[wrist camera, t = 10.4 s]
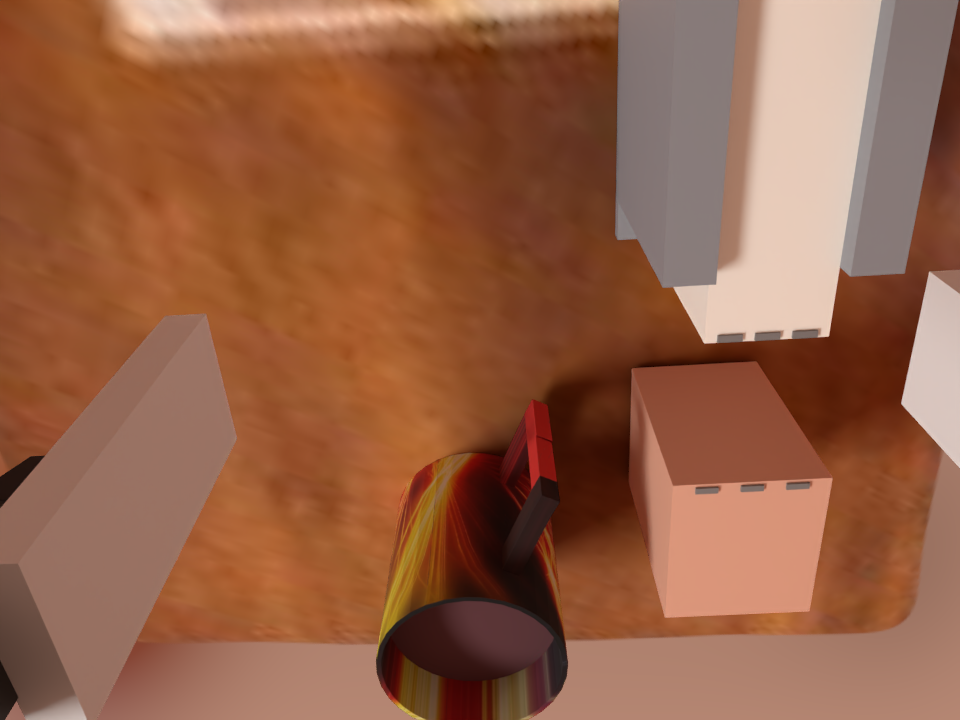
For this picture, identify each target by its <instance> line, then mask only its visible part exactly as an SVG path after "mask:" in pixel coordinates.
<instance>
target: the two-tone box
mask: <svg viewBox="0 0 960 720" xmlns="http://www.w3.org/2000/svg"><path fill="white" fill-rule="evenodd" d="M958 1H959V0H619V34H618V100H617V165H616V230H615V235H616V237H617V239H618V240H625V239H638V241H639V243H640V245H641V246H642V248H643V250H644V252H645V254H646V256H647V258H648V260H649V262H650V264H651V266H652V268H653V270H654V271H655V273H656V275H657V277H658V279H659V281H660V283H661V285H662V287H663V288H665V287H673V288H674V290H675V291H676V293H677V295H678V297H679V299H680V300H681V302H682V304H683V306H684V308H685V309H686V311H687V313H688V315H689V317H690V318H691V320H692V322H693V324H694V326H695V328H696V329H697V331H698V333H699V335H700V337H701V338H702V340H703V342H704V344H705V343H728V342H743V341H764V340H780V339H800V338H817V337H829V333H830V326H831V320H832V314H833V307H834V301H835V294H836V288H837V282H838V275H839V269H840V268H841V269H843V270H844V271H845V272H846V273H847V274H848V275H849V276H850V277H853V276H870V275H887V274H905V269H906V264H907V259H908V253H909V248H910V243H911V238H912V233H913V228H914V223H915V218H916V213H917V208H918V203H919V198H920V193H921V188H922V183H923V178H924V173H925V168H926V163H927V158H928V152H929V147H930V142H931V137H932V132H933V127H934V122H935V117H936V112H937V107H938V102H939V97H940V92H941V87H942V82H943V77H944V72H945V67H946V62H947V57H948V51H949V46H950V41H951V36H952V31H953V26H954V21H955V16H956V11H957V6H958Z"/></svg>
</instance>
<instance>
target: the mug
mask: <svg viewBox="0 0 960 720" xmlns="http://www.w3.org/2000/svg"><path fill="white" fill-rule="evenodd" d="M528 459H529V467H530V472H529V471H528V470H526V469H525V468H524V467H525V465H526V463H527V461H528ZM559 503H560V499H559V492H558V485H557V478H556V470H555V463H554V456H553V448H552V434H551V426H550V419H549V412H548V405H546V404H543V403H541V402H538V401H536V400H533V399H532V401H531V403H530V405H529V406H528V408H527V410H526V412H525V414H524V416H523V418H522V420H521V422H520V425H519V427H518V429H517V431H516V433H515V435H514V437H513V439H512V442H511V444H510V446H509V448H508V450H507V452H506V454H505V456H504V458H503V457H500V456H496V455H491V454H485V453H464V454H456V455H451V456H448V457H445V458H442V459H439V460H437V461H435V462H433V463H431V464H429V465H427V466H426V467H424V468H423V469H422V470H421V471H419V472H418V473H417V474H416V475H415V476H414V477H413V478H412V479H411V481H410V482H409V483H408V484H407V486H406V488H405V490H404V492H403V494H402V496H401V500H400V505H399V510H398V517H397V523H396V530H395V537H394V544H393V550H392V557H391V564H390V570H389V577H388V584H387V590H386V597H385V604H384V610H383V617H382V624H381V630H380V637H379V644H378V650H377V657H376V668H377V675H378V678H379V681H380V684H381V687H382V688H383V689H384V691H385V693H386V694H387V696H388V697H389V699H390V700H392V702H393V703H394V704H396V705H397V707H398V708H400V709H401V710H403V711H404V712H405V713H407V714H408V715H410V716H411V717H413V718H415V719H417V720H529V719H530V718H532V717H534V716H535V715H537V714H538V713H540V712H542V711H543V710H544V709H545V708H546V707H547V706H548V705H550V704H551V703H552V702H553V701H554V699H555V698H556V697H557V695H558V694H559V692H560V691H561V690H562V687H563V685H564V682H565V680H566V677H567V669H568V660H567V651H566V642H565V634H564V625H563V617H562V608H561V600H560V591H559V583H558V574H557V566H556V557H555V549H554V540H553V532H552V523H551V516H552V514H553V512H554V511H555V509H556V508H557V506H558V504H559Z"/></svg>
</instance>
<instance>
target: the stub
mask: <svg viewBox="0 0 960 720" xmlns="http://www.w3.org/2000/svg"><path fill="white" fill-rule="evenodd" d="M832 479H833V478H832V476H831V475H830V473H829V472H828V470H827V469H826V467H825V465H824V464H823V462H822V461H821V459H820V458H819V456H818V455H817V453H816V452H815V450H814V449H813V447H812V446H811V444H810V442H809V441H808V439H807V438H806V436H805V435H804V433H803V432H802V430H801V429H800V427H799V426H798V424H797V423H796V421H795V420H794V418H793V416H792V415H791V413H790V412H789V410H788V409H787V407H786V406H785V404H784V403H783V401H782V400H781V398H780V397H779V395H778V394H777V392H776V390H775V389H774V387H773V386H772V384H771V383H770V381H769V380H768V378H767V377H766V375H765V374H764V372H763V371H762V369H761V367H760V366H759V364H758V363H757V361H753V362H735V363H717V364H698V365H680V366H662V367H644V368H632V382H631V418H630V454H629V485H630V489H631V493H632V497H633V500H634V504H635V508H636V511H637V515H638V519H639V523H640V526H641V530H642V534H643V537H644V541H645V545H646V549H647V552H648V556H649V560H650V563H651V567H652V571H653V575H654V578H655V582H656V586H657V590H658V593H659V597H660V601H661V604H662V608H663V612H664V616H665V618H667V617H690V616H712V615H735V614H758V613H780V612H803V611H809V610H810V604H811V599H812V593H813V587H814V581H815V576H816V570H817V564H818V559H819V553H820V547H821V541H822V536H823V530H824V524H825V519H826V513H827V507H828V502H829V496H830V490H831V484H832Z"/></svg>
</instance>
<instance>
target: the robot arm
mask: <svg viewBox="0 0 960 720" xmlns="http://www.w3.org/2000/svg"><path fill="white" fill-rule="evenodd" d="M901 404H902V405H903V406H904V407H905V408H906V410H907V411H908V412H909V413H910V414H911V415H912V416H913V417H914V418H915V419H916V421H917V422H918V423H919V424H920V425H921V426H922V427H923V428H924V429H925V430H926V432H927V433H928V434H929V435H930V436H931V437H932V438H933V439H934V440H935V441H936V443H937V444H938V445H939V446H940V447H941V448H942V449H943V450H944V451H945V452H946V454H947V455H948V456H949V457H950V458H951V459H952V460H953V461H954V462H955V463H956V464H957V466H958V467H959V468H960V270H947V271H930V272H929V276H928V280H927V285H926V290H925V294H924V299H923V304H922V308H921V313H920V318H919V322H918V327H917V332H916V336H915V341H914V346H913V351H912V355H911V360H910V365H909V369H908V374H907V379H906V383H905V388H904V393H903V397H902V402H901ZM236 440H237V437H236V433H235V429H234V425H233V421H232V417H231V413H230V409H229V405H228V401H227V397H226V393H225V389H224V385H223V381H222V377H221V373H220V369H219V365H218V361H217V357H216V353H215V349H214V345H213V341H212V337H211V332H210V328H209V324H208V320H207V316H206V314H194V315H176V316H165V317H164V318H163V319H162V320H161V321H160V323H159V324H158V325H157V326H156V327H155V328H154V330H153V331H152V332H151V333H150V334H149V335H148V337H147V338H146V339H145V340H144V341H143V342H142V344H141V345H140V346H139V347H138V348H137V349H136V351H135V352H134V353H133V354H132V355H131V356H130V358H129V359H128V360H127V361H126V362H125V363H124V365H123V366H122V367H121V368H120V369H119V370H118V372H117V373H116V374H115V375H114V376H113V377H112V379H111V380H110V381H109V382H108V383H107V384H106V386H105V387H104V388H103V389H102V390H101V391H100V393H99V394H98V395H97V396H96V397H95V398H94V400H93V401H92V402H91V403H90V404H89V405H88V407H87V408H86V409H85V410H84V411H83V412H82V414H81V415H80V416H79V417H78V418H77V419H76V421H75V422H74V423H73V424H72V425H71V426H70V428H69V429H68V430H67V431H66V432H65V433H64V435H63V436H62V437H61V438H60V439H59V440H58V442H57V443H56V444H55V445H54V446H53V447H52V449H51V450H50V451H49V452H48V453H47V454H46V456H31V457H29V458H28V459H26V460H25V461H23V462H22V463H20V464H19V465H17V466H16V467H14V468H13V469H11V470H10V471H8V472H7V473H5V474H4V475H2V476H1V477H0V720H5V719H6V717H7V715H8V714H9V712H10V710H11V709H12V707H13V706H14V704H15V702H16V701H17V702H18V705H19V707H20V709H21V710H22V713H23V714H24V717H25V719H26V720H97V718H98V716H99V714H100V712H101V710H102V708H103V706H104V704H105V702H106V700H107V698H108V696H109V694H110V692H111V690H112V688H113V686H114V684H115V682H116V680H117V678H118V676H119V674H120V672H121V670H122V668H123V666H124V664H125V662H126V660H127V658H128V656H129V654H130V652H131V650H132V648H133V646H134V644H135V642H136V640H137V638H138V636H139V634H140V632H141V630H142V628H143V626H144V624H145V622H146V620H147V618H148V616H149V614H150V612H151V610H152V608H153V606H154V604H155V602H156V600H157V598H158V596H159V594H160V592H161V590H162V588H163V586H164V584H165V582H166V580H167V578H168V576H169V574H170V572H171V570H172V568H173V566H174V564H175V562H176V560H177V558H178V556H179V554H180V552H181V550H182V548H183V546H184V544H185V542H186V540H187V538H188V536H189V534H190V532H191V530H192V528H193V526H194V524H195V522H196V520H197V518H198V516H199V514H200V512H201V510H202V508H203V506H204V504H205V502H206V500H207V498H208V496H209V494H210V492H211V490H212V488H213V486H214V484H215V482H216V480H217V478H218V476H219V474H220V472H221V470H222V468H223V466H224V464H225V462H226V460H227V458H228V456H229V454H230V452H231V450H232V448H233V446H234V444H235V442H236Z"/></svg>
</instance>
